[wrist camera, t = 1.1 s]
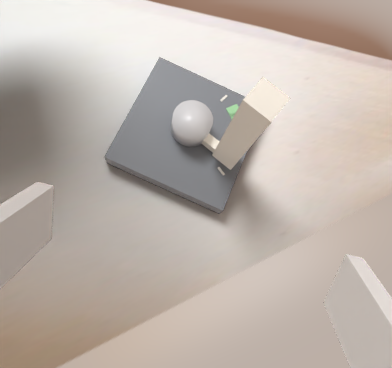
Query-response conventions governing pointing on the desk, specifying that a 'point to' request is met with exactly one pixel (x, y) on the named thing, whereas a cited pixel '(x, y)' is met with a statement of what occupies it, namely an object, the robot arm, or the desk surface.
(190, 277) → the desk surface
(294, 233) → the desk surface
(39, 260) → the desk surface
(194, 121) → the lever
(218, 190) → the dial plate
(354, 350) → the robot arm
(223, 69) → the desk surface
